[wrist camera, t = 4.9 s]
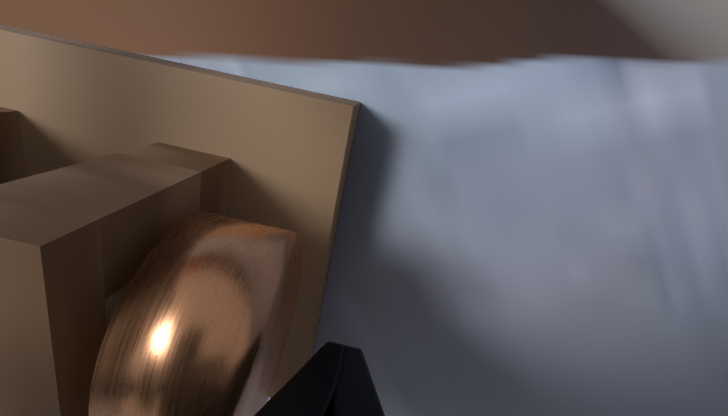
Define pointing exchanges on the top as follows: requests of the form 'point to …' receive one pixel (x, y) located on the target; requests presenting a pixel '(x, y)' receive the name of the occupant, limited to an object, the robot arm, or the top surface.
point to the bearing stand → (142, 194)
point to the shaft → (200, 322)
